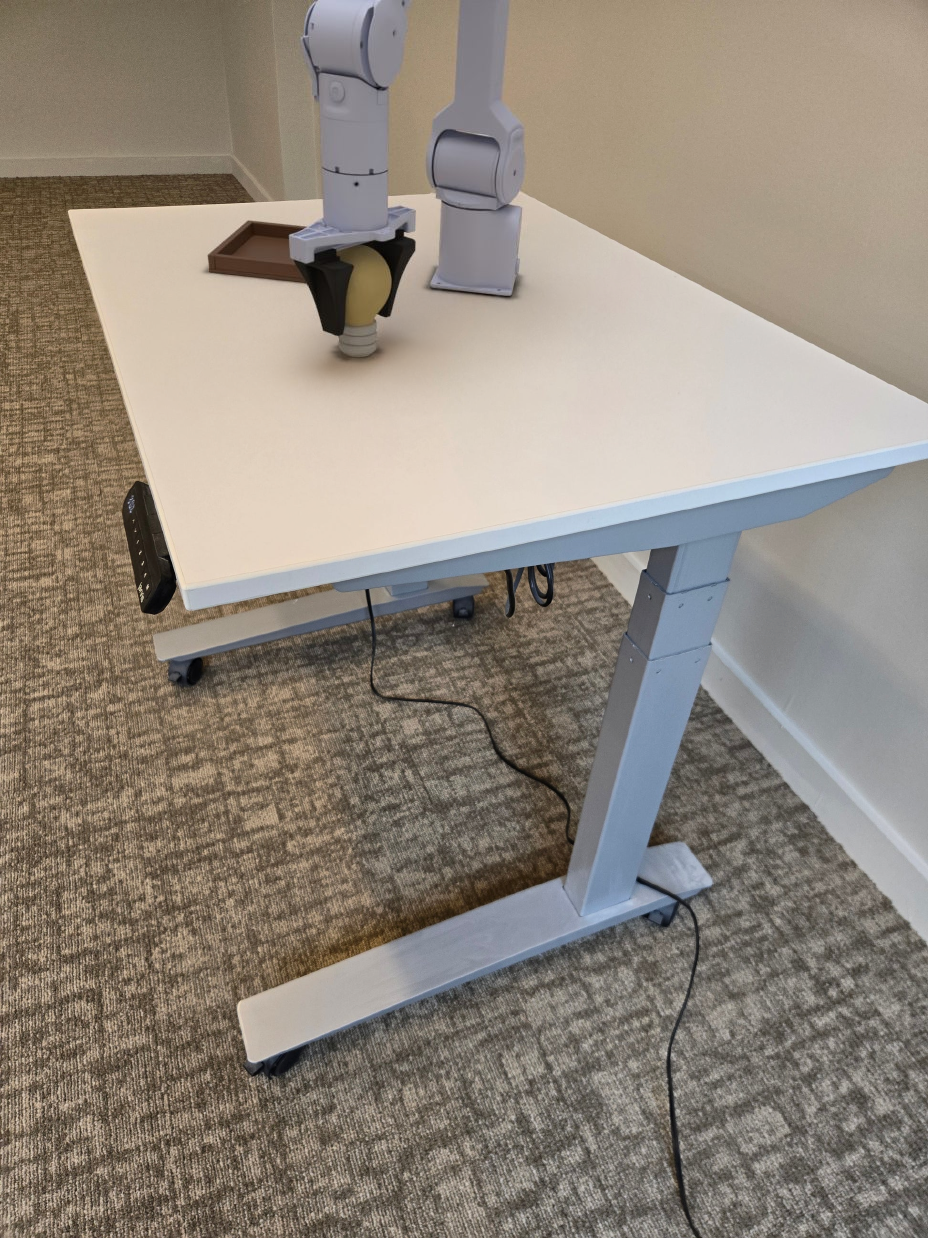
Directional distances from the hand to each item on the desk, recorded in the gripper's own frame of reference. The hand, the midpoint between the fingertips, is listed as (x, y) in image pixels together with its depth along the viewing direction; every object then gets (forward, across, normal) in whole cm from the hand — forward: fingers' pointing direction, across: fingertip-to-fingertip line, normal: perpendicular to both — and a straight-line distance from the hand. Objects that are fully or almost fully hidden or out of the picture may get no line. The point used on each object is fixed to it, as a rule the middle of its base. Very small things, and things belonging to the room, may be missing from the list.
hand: (357, 323), depth 83 cm
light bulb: (+3, 0, 0) cm, 3 cm away
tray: (+3, +15, +24) cm, 28 cm away
